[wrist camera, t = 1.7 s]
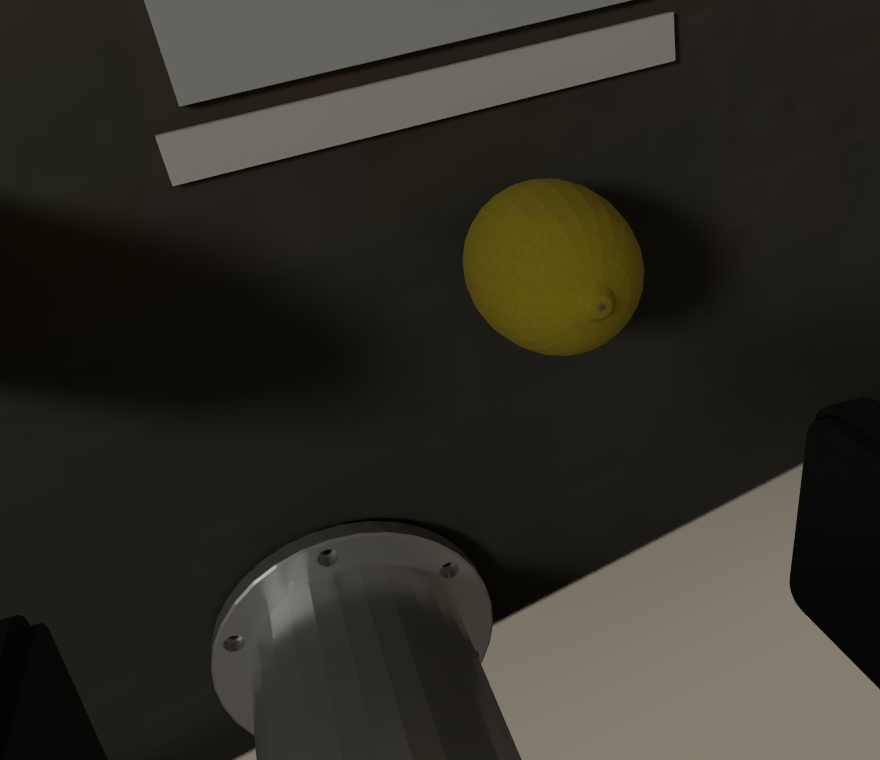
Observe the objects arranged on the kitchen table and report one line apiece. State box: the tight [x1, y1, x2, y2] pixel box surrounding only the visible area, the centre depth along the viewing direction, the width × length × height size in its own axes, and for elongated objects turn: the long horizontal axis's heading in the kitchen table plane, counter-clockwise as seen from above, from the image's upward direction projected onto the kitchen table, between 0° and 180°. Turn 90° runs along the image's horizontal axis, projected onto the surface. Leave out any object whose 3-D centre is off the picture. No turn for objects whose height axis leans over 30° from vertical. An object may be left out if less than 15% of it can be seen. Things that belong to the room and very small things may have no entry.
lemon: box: [463, 179, 644, 356], centre depth 27 cm, size 6×6×8 cm
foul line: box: [155, 12, 675, 186], centre depth 27 cm, size 2×18×1 cm, turn 100°
